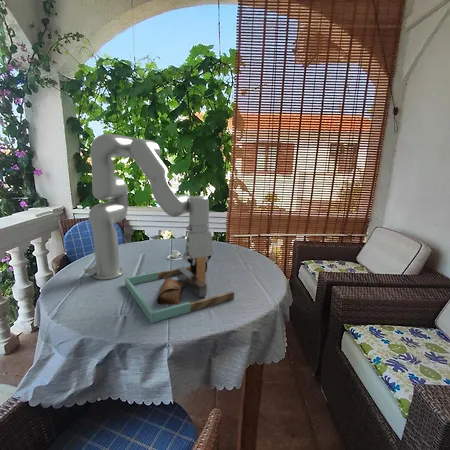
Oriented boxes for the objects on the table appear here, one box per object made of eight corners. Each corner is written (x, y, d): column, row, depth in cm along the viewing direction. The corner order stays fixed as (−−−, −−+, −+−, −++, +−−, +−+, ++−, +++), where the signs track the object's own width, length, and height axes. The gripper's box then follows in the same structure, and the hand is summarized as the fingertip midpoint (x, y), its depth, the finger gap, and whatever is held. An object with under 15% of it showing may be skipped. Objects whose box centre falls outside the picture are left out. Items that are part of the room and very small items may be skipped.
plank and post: (199, 297, 106) (199, 262, 103) (177, 278, 122) (176, 246, 119) (215, 293, 110) (216, 258, 106) (191, 274, 126) (192, 244, 123)
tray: (151, 322, 90) (151, 314, 89) (125, 284, 116) (124, 277, 116) (190, 311, 97) (190, 303, 96) (157, 278, 124) (157, 271, 123)
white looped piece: (176, 254, 156) (176, 247, 155) (186, 257, 152) (186, 250, 151) (164, 258, 149) (163, 251, 149) (174, 261, 145) (174, 254, 144)
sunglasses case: (181, 304, 101) (170, 289, 100) (164, 313, 102) (153, 298, 100) (185, 283, 119) (176, 270, 118) (170, 291, 119) (162, 278, 118)
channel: (190, 311, 97) (190, 304, 97) (157, 278, 124) (157, 272, 123) (234, 298, 107) (234, 292, 106) (194, 270, 133) (194, 265, 133)
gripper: (183, 232, 104) (183, 280, 108) (222, 227, 113) (221, 271, 117) (175, 228, 110) (175, 273, 114) (212, 224, 119) (212, 265, 123)
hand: (198, 271), depth 115 cm, fingers closed on plank and post, 4 cm apart
